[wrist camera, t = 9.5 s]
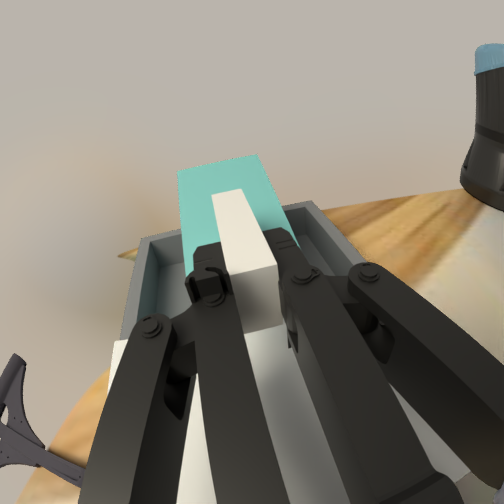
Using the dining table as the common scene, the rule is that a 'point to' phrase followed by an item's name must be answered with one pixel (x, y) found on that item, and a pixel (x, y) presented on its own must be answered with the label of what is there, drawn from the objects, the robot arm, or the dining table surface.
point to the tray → (173, 272)
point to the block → (217, 181)
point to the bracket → (26, 430)
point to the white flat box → (288, 430)
